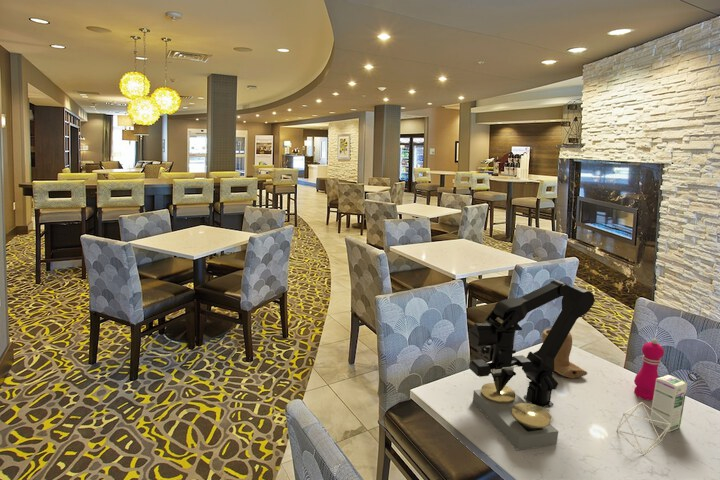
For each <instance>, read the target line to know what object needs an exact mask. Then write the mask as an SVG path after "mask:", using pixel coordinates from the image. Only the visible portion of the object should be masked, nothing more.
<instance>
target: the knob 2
mask: <svg viewBox="0 0 720 480" xmlns="http://www.w3.org/2000/svg"><path fill="white" fill-rule="evenodd" d="M512 416H513V417H514V419H515V420H517V421H518V422H519V423H521V426H522V427H523V428H524V429H525V430H526V431H527V432H530V431H537V430H538V428H544V427H547V426H549V425H550V424H551V423H552V415H551V413H550V412H549V410H547V409H546V408H544V407H540V406H538V405H535V404H532V403H530V402H529V403H528V402H526V403H518V404H516V405H514V406H513V408H512Z"/></svg>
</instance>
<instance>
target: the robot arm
mask: <svg viewBox="0 0 720 480" xmlns="http://www.w3.org/2000/svg"><path fill="white" fill-rule="evenodd" d="M561 297H562V299H561V311H560V312H559V314H558V316H557V317H556V319H555V322H554V323H553V325H552V327H551V330H550V332H549V333H548V335H547V337H546V339H545V340H544V342H543V341H542V345H541V346H540V348H538V350H536V351H535V352H532V351H529V352H528V353H527V356H524V355H523V354H521V355H515V354H517V353H516V352H517V351H516V349H515V348H514V344H515V337H516V332H517V331H518V332H519V331H522V330H523V328H522V327H521V326H520V325H519V323H520V322H521V321H523V320H524V319H526V316H527V315H528V313H530V312H531V311H534V310H536V309H539V308H540V307H542V306H544V305H546V304H548V303H550V302H552V301H555V300H556V299H558V298H561ZM595 301H596V299H595V295H594V294H593V292H592V291H589V290H588V289H587V290H586V289H584V288H583V287H580V286H577V285H568V284H567V283H566V282H563V281H561V280H558V279H554V280H551V281H550V282H549V283H548V284H546V285H544V286H541V287H540V288H537V289H534V290H533V291H531V292H528V293H527V294H525V295H522V296H520V297H515V298H513V297H512V298H506V299H504V300H503V299H502V300H499V301H498V302H497V303H495V305H494V308H493V309H492V311H490V313H489V314H488V315H487V317H486V318H485V319H484V321H485V322H483V323H480V322H476V323H474V325H473V327H471V328H470V331H468V332H469V341H470V344H471V346H472V347H474V348H476V351H477V354H478V355H480V356H481V355H482V357H487V360H489V361H491V362H486V361H485V360H484V359H482V358H481V359H472V360H470V361H469V364H468V368H469V370H470V371H471V372H472V373H473V374H475V375H476V376H477V377H479V378H482V377H489V375H491V376H492V379H493V383H495V387H496V390H497V391H498V392H501V391H502V389H503V388H504V387H505V385H506V386H507V384H508V383H509V381H510V380H511V379H513V377H514V376H517V372H515V370H514V368H521V370H522V371H523V373H524V374H525V377H526V378H527V379H529V380H530V381H529V382H528V386H527V388H526V390H527V391H526V395H525V394H524V396H523V397H524V399H526V401H528V402H529V403H530V404H535V405H538V406H540V407H542V408H544V407H551V406H554V402H552V401H551V399H552V392H553V390H557V388H558V385H559V382H558V381H557V380H556V379H555V377H553V373H554V372H555V371H554V359H555V357H556V355H557V353H558V351H559V350H560V348H561V346H562V344H563V343H564V341H565V339H566V338H567V336H568V334H569V332H570V333H571V332H572V331H571V330H572V329H573V327H574V325H575V323H576V322H577V320H578V319H579V318H581V317H583V316H584V315H586V314H587V313H589V311H590V310H591V308H592V307H593V306H594V304H595ZM497 319H498V320H497ZM513 354H514V355H513Z"/></svg>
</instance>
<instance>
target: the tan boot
mask: <svg viewBox="0 0 720 480" xmlns="http://www.w3.org/2000/svg"><path fill="white" fill-rule="evenodd" d="M551 328H552V327H551ZM551 328H546V329H544V330H543V331H542V334H541V340H542V343H543V342H544V340H545V339H546V337H547V335H548V333H549V332H550V330H551ZM572 348H573V335H572V333H571V331H570V332H569V334H568V336H567V338H566V339H565V341H564V343H563V344H562V346H561V348H560V350H559V351H558V353H557V355H556V357H555V359H554V371H553V372H556V374H559V375H560V376H563V377H567V378H571V379H576V378H581V377H585V376H586V375H588V372H587V371H586V370H585V369H583V368H581V367H580V366H579V365H576V364H574V363H572V362H571V361H570V356H571V353H572V352H571V351H572Z"/></svg>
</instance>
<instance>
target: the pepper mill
mask: <svg viewBox="0 0 720 480" xmlns="http://www.w3.org/2000/svg"><path fill="white" fill-rule="evenodd" d="M658 341H659V340H658V339H657V338H652V339H651V341H649V342H645V343H644V344H643V346H642V347H641V352H642V354H643V355H642V357H641V359H642V361H643V363H642V367H641V369H640V370H639V371H638V373H637V374H635V377H634V384H635V387H634V391H633V393H634V395H635V396H637V397H638V398H639V399H642V400H646V401H653V396H654V390H655V383H656V378H659V374H658V367H659V365H660V364H661V361H662V360H661V358H663V357H664V354H665V350H664V348H663V346H662V345H661V344H659V342H658Z"/></svg>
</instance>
